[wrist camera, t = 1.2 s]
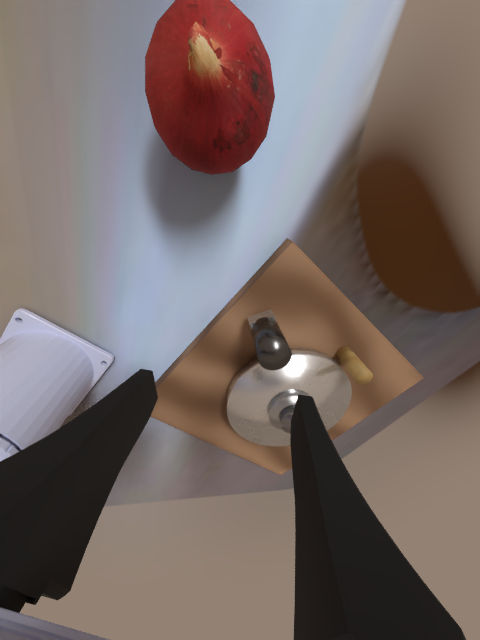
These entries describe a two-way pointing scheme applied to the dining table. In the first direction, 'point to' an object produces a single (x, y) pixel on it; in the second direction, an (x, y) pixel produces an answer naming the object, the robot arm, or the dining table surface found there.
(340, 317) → the base board
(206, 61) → the red oval fruit
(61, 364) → the robot arm
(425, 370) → the dining table surface
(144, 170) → the dining table surface
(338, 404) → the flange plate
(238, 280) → the dining table surface
